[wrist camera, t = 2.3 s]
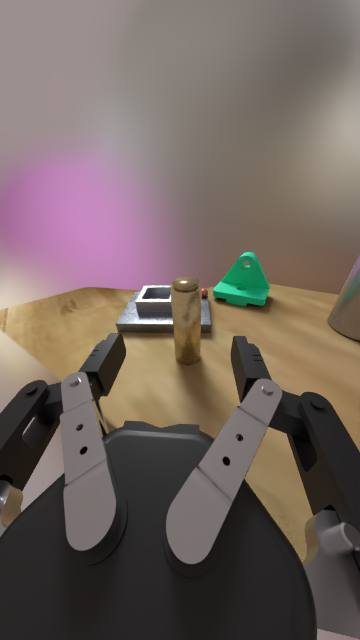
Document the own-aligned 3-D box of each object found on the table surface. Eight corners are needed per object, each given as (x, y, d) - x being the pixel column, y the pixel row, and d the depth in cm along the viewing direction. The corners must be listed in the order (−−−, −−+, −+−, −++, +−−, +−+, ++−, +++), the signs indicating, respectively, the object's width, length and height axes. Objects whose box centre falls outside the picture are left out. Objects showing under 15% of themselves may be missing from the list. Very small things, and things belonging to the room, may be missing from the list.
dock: (206, 298, 46) (207, 281, 43) (210, 332, 34) (211, 312, 32) (137, 298, 47) (134, 282, 45) (118, 331, 36) (112, 312, 33)
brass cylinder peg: (199, 347, 31) (201, 275, 24) (200, 365, 28) (202, 287, 21) (176, 346, 31) (171, 275, 24) (174, 364, 28) (167, 288, 21)
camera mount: (211, 300, 45) (214, 258, 40) (221, 288, 51) (224, 250, 45) (262, 310, 40) (274, 264, 34) (267, 296, 46) (278, 254, 40)
